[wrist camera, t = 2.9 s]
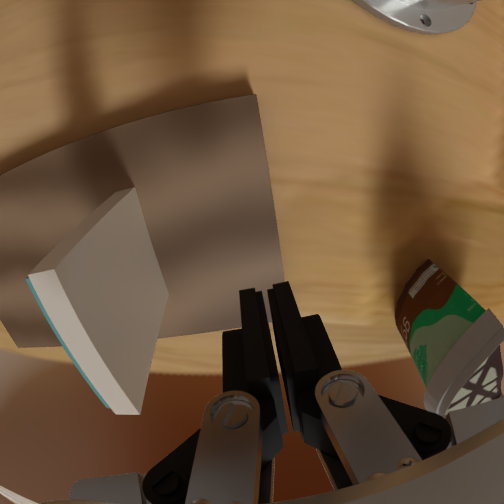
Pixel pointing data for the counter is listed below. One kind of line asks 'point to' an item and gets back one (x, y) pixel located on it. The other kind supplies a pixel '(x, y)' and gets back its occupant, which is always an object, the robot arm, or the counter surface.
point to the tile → (106, 300)
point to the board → (153, 213)
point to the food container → (450, 341)
